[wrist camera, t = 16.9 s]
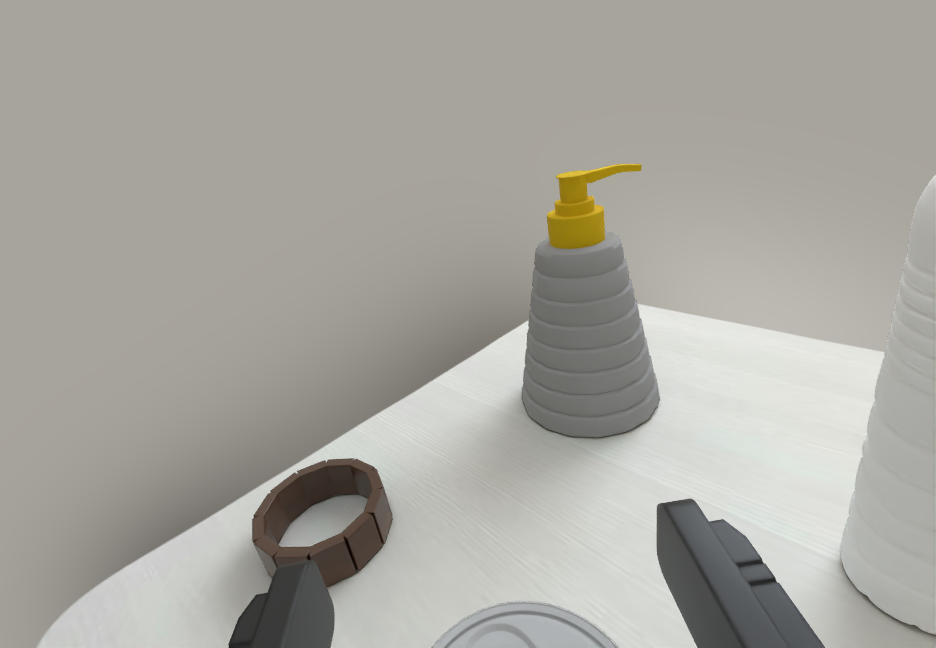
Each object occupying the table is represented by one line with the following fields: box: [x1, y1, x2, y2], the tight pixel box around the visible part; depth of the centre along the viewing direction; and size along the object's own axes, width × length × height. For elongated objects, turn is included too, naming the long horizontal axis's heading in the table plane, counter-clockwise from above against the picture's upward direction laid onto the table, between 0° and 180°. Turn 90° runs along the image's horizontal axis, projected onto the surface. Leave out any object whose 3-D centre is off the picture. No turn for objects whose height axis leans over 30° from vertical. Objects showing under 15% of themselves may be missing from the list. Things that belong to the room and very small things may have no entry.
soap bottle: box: [522, 164, 660, 437], centre depth 41 cm, size 12×12×20 cm
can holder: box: [252, 458, 392, 587], centre depth 35 cm, size 9×9×3 cm
